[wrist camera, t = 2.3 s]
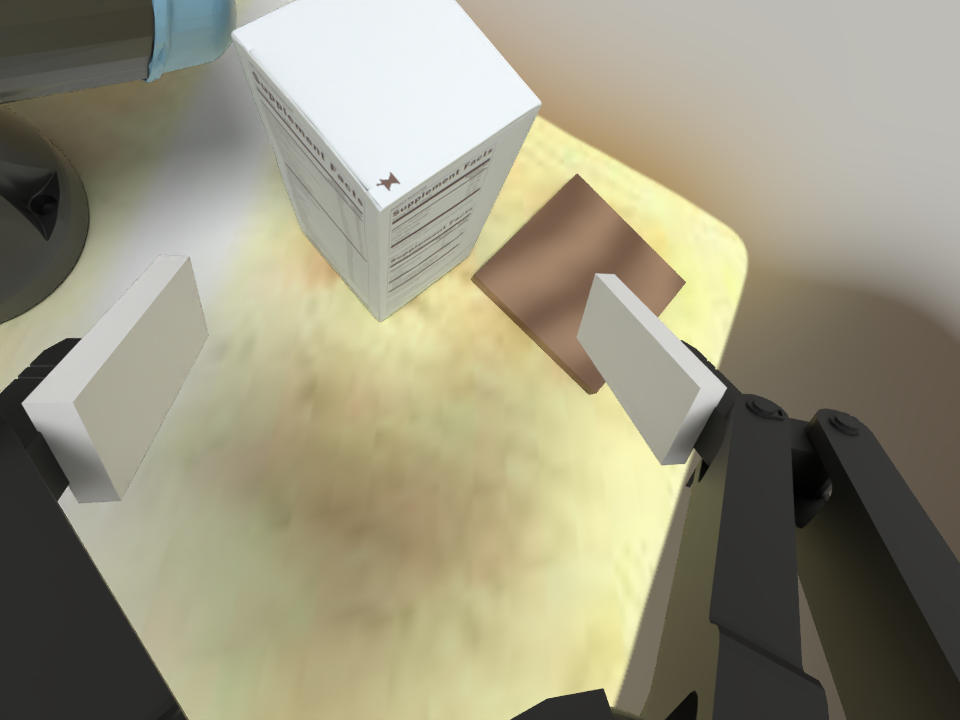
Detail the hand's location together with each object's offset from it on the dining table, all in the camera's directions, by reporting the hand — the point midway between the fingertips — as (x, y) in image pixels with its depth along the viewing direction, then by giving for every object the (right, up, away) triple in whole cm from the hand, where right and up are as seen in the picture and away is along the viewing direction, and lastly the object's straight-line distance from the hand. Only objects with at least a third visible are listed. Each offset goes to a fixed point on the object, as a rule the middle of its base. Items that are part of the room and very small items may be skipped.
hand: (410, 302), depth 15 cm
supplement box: (-5, +7, +19) cm, 21 cm away
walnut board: (+11, +4, +22) cm, 25 cm away
